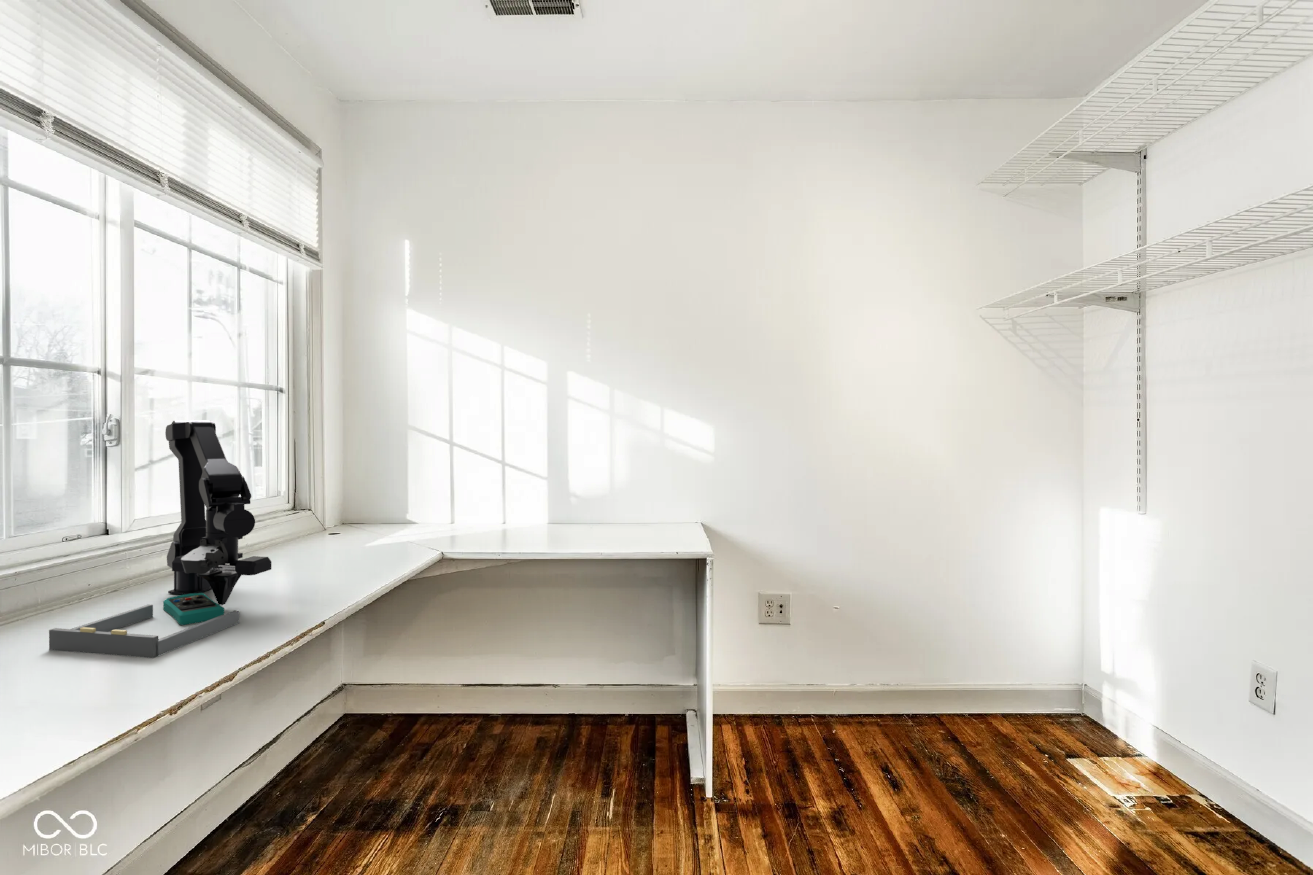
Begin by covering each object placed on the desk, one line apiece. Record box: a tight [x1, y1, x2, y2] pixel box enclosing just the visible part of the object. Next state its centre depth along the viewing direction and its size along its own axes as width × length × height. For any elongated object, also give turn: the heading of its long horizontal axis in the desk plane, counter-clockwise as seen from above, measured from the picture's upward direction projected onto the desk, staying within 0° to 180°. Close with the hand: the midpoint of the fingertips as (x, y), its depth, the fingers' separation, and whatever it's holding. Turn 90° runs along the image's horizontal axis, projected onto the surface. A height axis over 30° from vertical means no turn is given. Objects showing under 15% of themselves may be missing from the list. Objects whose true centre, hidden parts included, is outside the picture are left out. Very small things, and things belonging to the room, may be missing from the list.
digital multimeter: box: [162, 592, 225, 626], centre depth 137 cm, size 8×15×3 cm, turn 47°
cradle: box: [48, 604, 240, 659], centre depth 123 cm, size 20×20×4 cm
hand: (222, 604), depth 140 cm, fingers closed
